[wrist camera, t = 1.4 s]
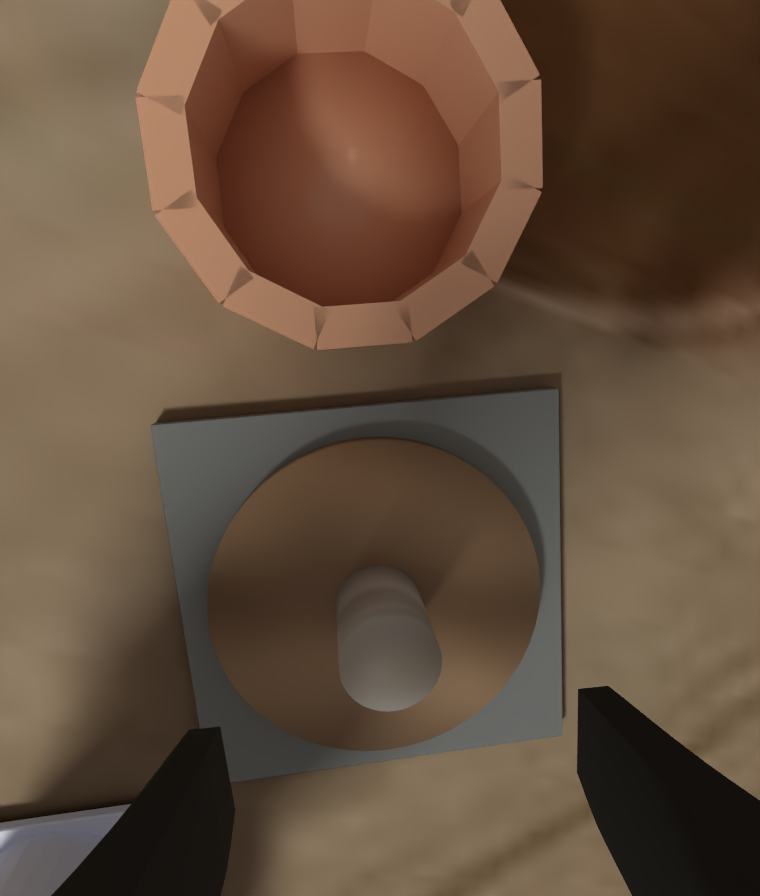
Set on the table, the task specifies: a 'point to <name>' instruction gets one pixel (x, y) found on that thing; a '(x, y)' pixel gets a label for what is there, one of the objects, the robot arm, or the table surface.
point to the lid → (373, 594)
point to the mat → (298, 432)
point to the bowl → (342, 158)
